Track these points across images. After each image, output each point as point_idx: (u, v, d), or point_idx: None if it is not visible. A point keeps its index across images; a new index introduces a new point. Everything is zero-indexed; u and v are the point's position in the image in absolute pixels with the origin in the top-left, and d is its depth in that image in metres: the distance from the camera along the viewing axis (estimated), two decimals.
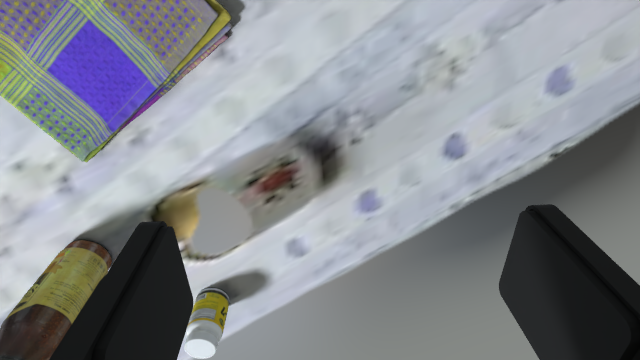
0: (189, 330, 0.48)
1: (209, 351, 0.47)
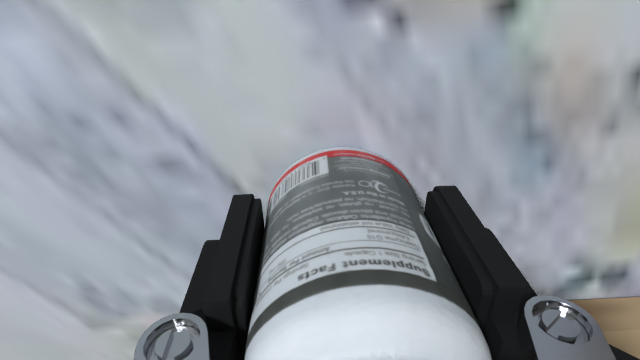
0: None
1: None
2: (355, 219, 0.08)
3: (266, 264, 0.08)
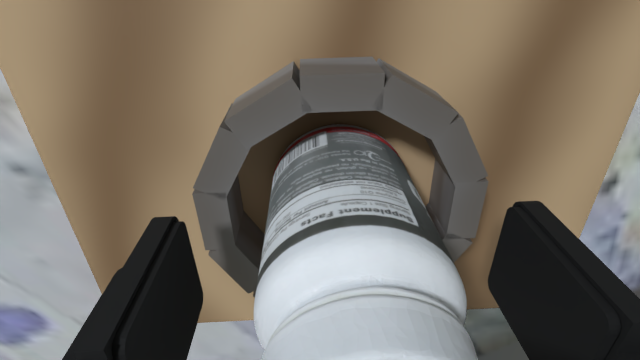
0: None
1: None
2: (350, 179, 0.09)
3: (273, 220, 0.09)
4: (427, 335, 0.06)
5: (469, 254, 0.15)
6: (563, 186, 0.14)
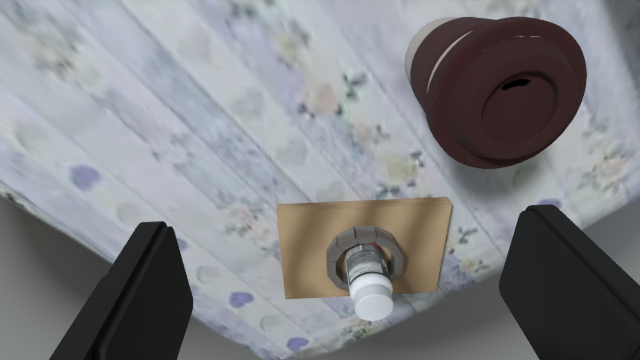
0: None
1: None
2: (368, 261, 0.41)
3: (351, 270, 0.41)
4: (382, 292, 0.38)
5: (404, 274, 0.47)
6: (431, 254, 0.46)
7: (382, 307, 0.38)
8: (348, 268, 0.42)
